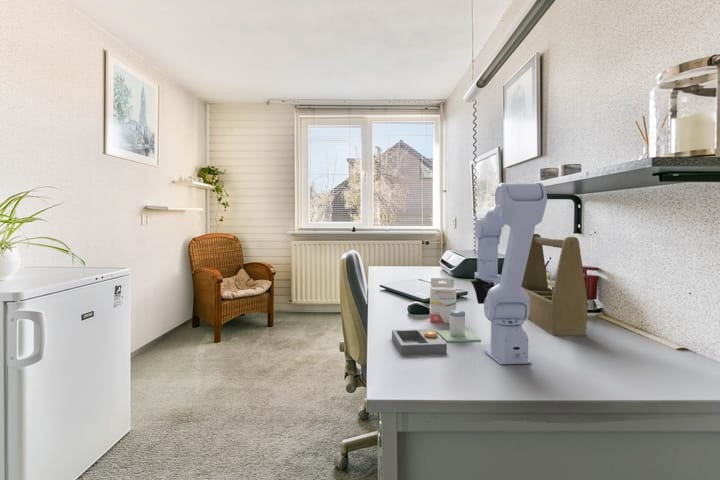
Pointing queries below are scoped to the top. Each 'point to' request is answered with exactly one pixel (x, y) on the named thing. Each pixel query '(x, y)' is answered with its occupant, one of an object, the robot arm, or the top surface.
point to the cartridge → (457, 323)
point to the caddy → (557, 288)
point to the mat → (467, 338)
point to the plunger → (430, 334)
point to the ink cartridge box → (442, 299)
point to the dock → (421, 348)
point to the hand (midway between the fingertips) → (486, 306)
